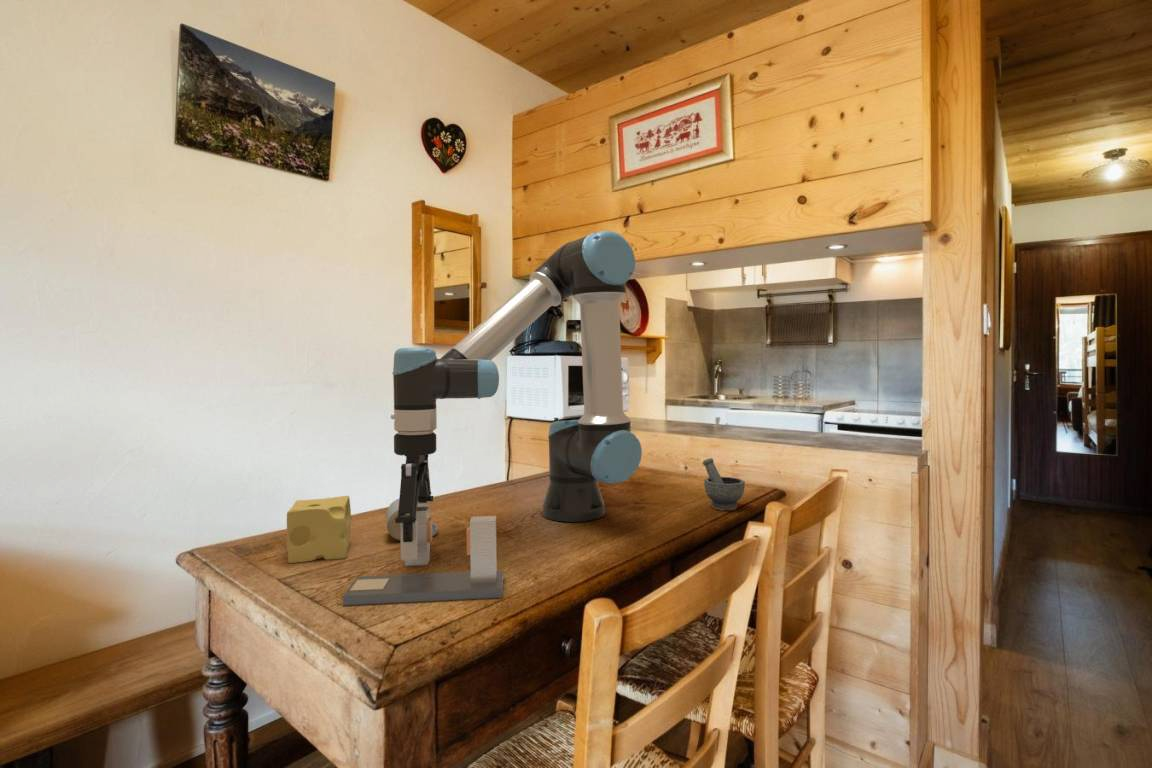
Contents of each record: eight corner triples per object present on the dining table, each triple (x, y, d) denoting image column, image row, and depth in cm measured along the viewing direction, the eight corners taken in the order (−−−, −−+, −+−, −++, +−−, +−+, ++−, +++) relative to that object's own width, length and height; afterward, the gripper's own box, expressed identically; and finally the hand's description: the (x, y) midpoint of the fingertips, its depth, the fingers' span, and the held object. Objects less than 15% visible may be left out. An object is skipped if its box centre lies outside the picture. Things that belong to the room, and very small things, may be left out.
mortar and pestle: (751, 508, 143) (752, 460, 142) (729, 514, 137) (729, 465, 136) (714, 500, 151) (714, 455, 151) (692, 506, 145) (692, 459, 145)
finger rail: (503, 578, 97) (502, 511, 96) (502, 597, 89) (501, 524, 88) (357, 585, 94) (356, 516, 94) (342, 605, 86) (341, 530, 86)
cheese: (346, 559, 107) (345, 506, 107) (284, 565, 104) (282, 511, 104) (352, 542, 117) (351, 494, 117) (294, 547, 114) (293, 498, 114)
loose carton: (433, 559, 107) (432, 506, 106) (430, 564, 104) (429, 510, 103) (408, 560, 106) (407, 507, 106) (404, 565, 103) (403, 511, 103)
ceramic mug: (386, 544, 116) (386, 507, 116) (386, 533, 123) (386, 498, 123) (439, 539, 119) (439, 503, 119) (436, 529, 127) (436, 495, 127)
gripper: (407, 425, 116) (408, 528, 117) (377, 441, 91) (378, 571, 92) (444, 425, 117) (445, 527, 118) (425, 440, 92) (426, 569, 93)
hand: (416, 546), depth 105 cm, fingers open, 13 cm apart
